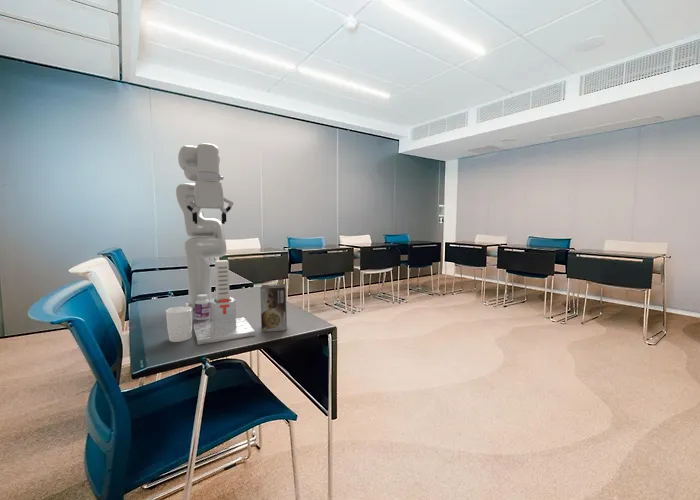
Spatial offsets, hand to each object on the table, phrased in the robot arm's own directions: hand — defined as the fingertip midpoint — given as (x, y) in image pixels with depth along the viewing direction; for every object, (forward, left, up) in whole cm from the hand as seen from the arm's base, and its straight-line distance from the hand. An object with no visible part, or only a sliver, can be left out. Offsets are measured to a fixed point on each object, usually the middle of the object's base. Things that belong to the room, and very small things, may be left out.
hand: (209, 223), depth 122 cm
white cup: (+14, -12, -38) cm, 43 cm away
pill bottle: (-6, -3, -38) cm, 39 cm away
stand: (+14, +2, -38) cm, 41 cm away
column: (+14, +2, -31) cm, 34 cm away
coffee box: (+19, +19, -38) cm, 47 cm away
